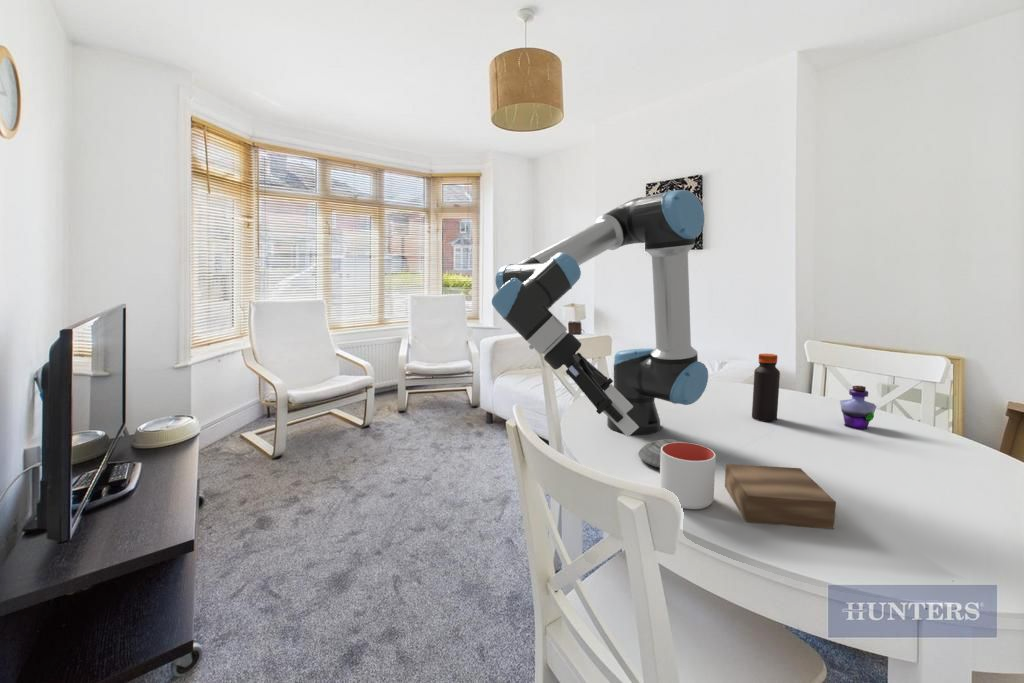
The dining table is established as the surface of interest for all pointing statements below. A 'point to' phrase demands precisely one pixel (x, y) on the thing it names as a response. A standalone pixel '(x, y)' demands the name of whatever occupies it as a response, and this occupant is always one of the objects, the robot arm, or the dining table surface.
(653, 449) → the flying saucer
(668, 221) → the robot arm
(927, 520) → the dining table surface
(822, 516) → the walnut block
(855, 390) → the potion bottle
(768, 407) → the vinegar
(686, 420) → the dining table surface
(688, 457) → the cup
